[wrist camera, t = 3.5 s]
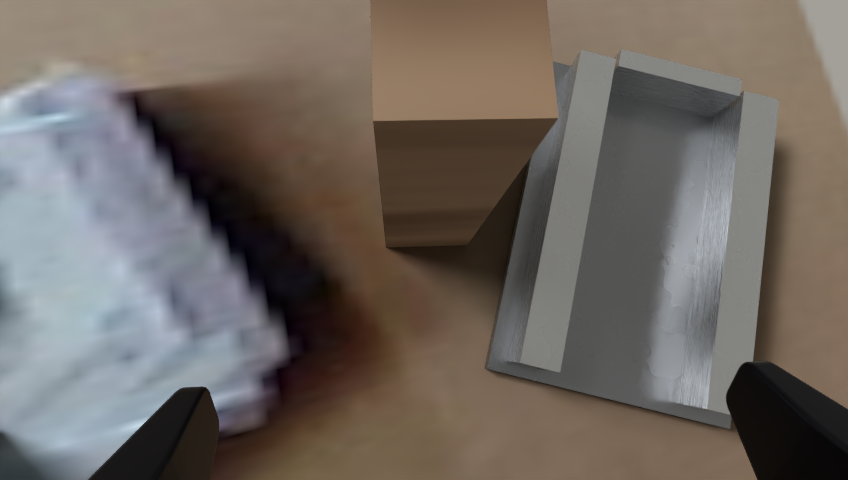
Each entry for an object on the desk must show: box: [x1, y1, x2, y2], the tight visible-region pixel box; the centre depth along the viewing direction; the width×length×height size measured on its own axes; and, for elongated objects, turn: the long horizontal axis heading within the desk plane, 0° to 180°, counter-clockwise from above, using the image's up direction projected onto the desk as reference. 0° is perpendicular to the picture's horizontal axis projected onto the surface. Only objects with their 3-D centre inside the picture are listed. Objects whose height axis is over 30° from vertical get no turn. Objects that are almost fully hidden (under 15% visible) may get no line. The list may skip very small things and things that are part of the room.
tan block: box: [370, 0, 558, 248], centre depth 16 cm, size 6×4×12 cm, turn 2°
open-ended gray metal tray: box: [485, 49, 779, 429], centre depth 21 cm, size 14×10×3 cm
